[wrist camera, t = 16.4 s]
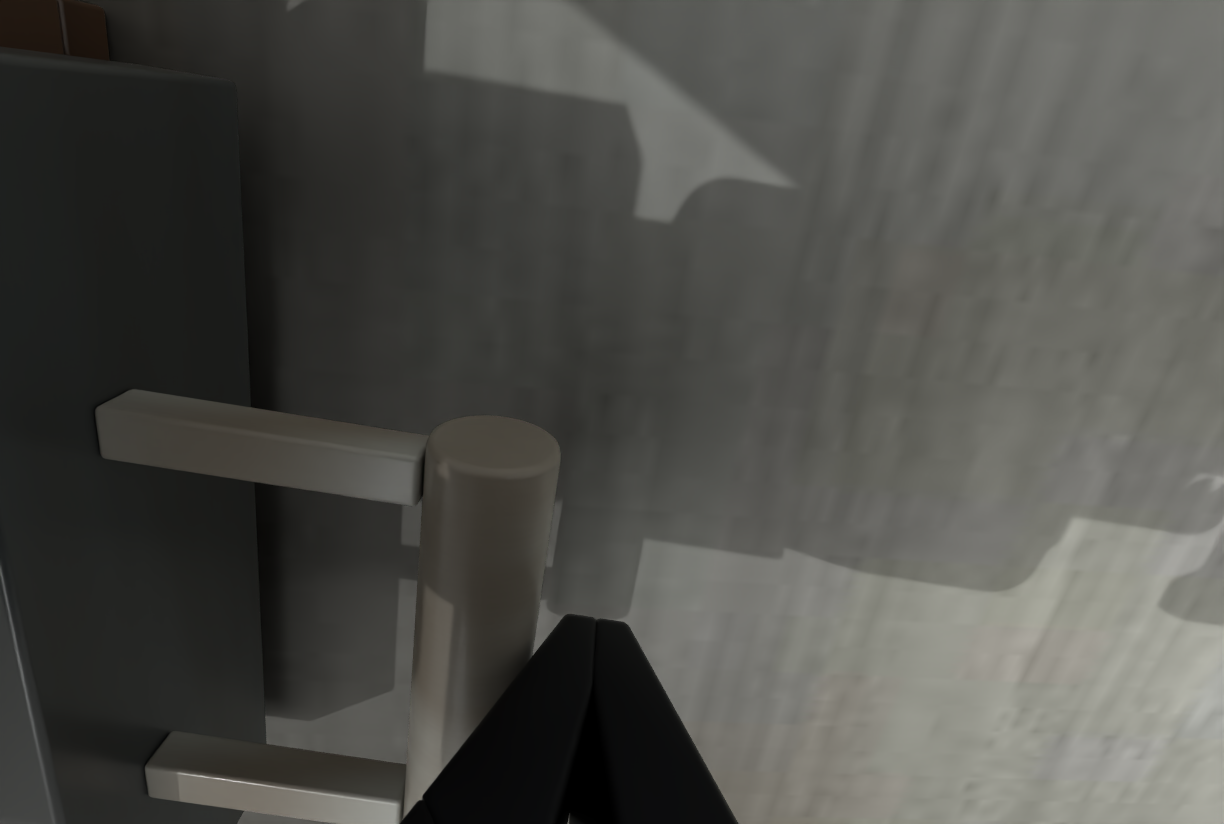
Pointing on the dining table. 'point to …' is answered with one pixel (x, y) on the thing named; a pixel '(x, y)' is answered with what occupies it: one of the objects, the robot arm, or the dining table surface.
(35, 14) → the cabinet
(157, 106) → the drawer
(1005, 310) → the dining table surface
